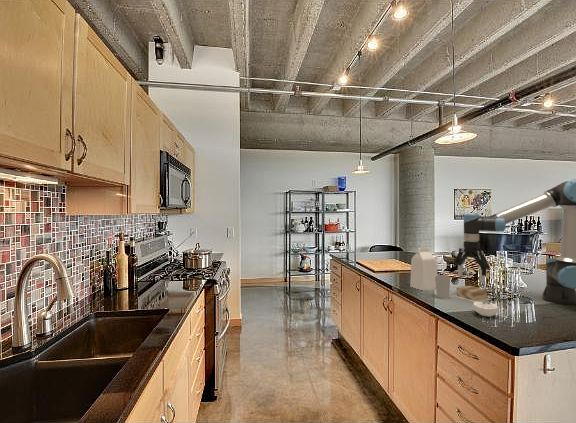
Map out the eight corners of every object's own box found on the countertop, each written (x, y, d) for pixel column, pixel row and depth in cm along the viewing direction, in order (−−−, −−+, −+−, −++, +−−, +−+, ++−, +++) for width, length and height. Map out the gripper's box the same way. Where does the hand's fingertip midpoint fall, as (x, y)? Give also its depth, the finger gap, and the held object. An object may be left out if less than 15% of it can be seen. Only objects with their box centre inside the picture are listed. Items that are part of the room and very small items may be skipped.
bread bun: (487, 298, 171) (487, 289, 171) (473, 300, 167) (473, 291, 167) (470, 294, 181) (470, 285, 181) (456, 296, 177) (456, 287, 177)
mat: (492, 300, 170) (492, 299, 170) (474, 302, 165) (474, 302, 165) (469, 293, 183) (469, 293, 183) (452, 296, 178) (452, 295, 178)
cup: (452, 299, 171) (452, 278, 171) (437, 299, 172) (437, 277, 172) (448, 296, 179) (448, 275, 179) (433, 295, 180) (433, 275, 180)
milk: (423, 291, 190) (422, 249, 190) (410, 286, 201) (409, 247, 201) (438, 289, 194) (438, 248, 194) (425, 285, 205) (424, 246, 205)
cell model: (470, 316, 144) (470, 301, 144) (476, 310, 153) (476, 296, 153) (496, 321, 137) (496, 306, 137) (500, 314, 146) (500, 300, 146)
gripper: (447, 239, 184) (447, 274, 184) (487, 243, 161) (487, 284, 161) (457, 238, 187) (456, 273, 187) (497, 243, 164) (497, 283, 164)
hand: (470, 278), depth 174 cm, fingers open, 13 cm apart
